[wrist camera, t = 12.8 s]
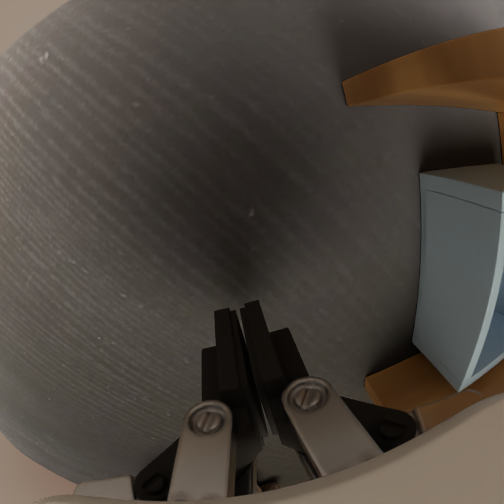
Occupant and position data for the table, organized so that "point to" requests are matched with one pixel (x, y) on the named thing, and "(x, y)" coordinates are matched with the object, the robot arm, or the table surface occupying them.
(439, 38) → the table surface
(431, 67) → the shelf
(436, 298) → the basket
